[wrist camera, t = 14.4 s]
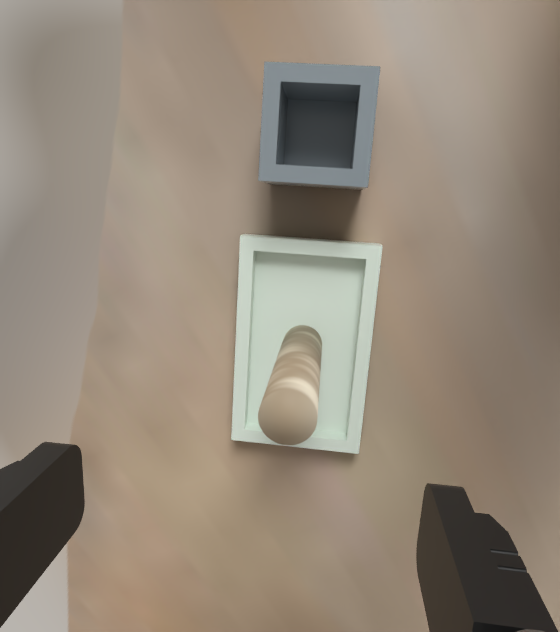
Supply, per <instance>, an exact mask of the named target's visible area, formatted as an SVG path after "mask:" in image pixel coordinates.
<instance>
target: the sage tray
mask: <svg viewBox="0 0 560 632" xmlns="http://www.w3.org/2000/svg"><path fill="white" fill-rule="evenodd" d="M381 255H382V245H381V244H380V243H366V242H352V241H339V240H325V239H311V238H297V237H284V236H270V235H256V234H243V235H240V254H239V276H238V299H237V322H236V345H235V367H234V390H233V413H232V436H231V440H237V441H246V442H255V443H264V444H273V445H282V444H278V443H276V442H274V441H272V440H270V439H269V438H268V437H267V436H266V435H265V434H264V433H263V431H262V430H261V428H260V425H259V422H258V411H259V408H260V405H261V402H262V399H263V396H264V393H265V391H266V388H267V385H268V382H269V379H270V376H271V373H272V370H273V368H274V365H275V362H276V359H277V356H278V353H279V350H280V348H281V345H282V342H283V339H284V336H285V334H286V333H287V332H288V331H289V330H290V329H291V328H293V327H295V326H298V325H306V326H309V327H312V328H313V329H315V330H316V331H317V332H318V333H319V335H320V337H321V340H322V355H321V371H320V386H319V402H318V418H317V425H316V428H315V431H314V432H313V434H312V435H311V436H310V437H309V438H308V439H307V440H305V441H304V442H302V443H299V444H296V445H282V446H291V447H300V448H309V449H318V450H327V451H336V452H346V453H355V454H359V447H360V439H361V430H362V421H363V412H364V404H365V395H366V386H367V377H368V369H369V360H370V351H371V342H372V334H373V325H374V316H375V307H376V299H377V290H378V281H379V272H380V264H381Z"/></svg>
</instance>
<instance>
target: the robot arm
mask: <svg viewBox="0 0 560 632" xmlns="http://www.w3.org/2000/svg"><path fill="white" fill-rule="evenodd" d="M84 504H85V503H84V485H83V470H82V455H81V450H80V448H79V447H78V446H77V445H71V444H60V443H52V442H44V443H42V444H40V445H39V446H38V447H37V448H35V450H33V451H32V452H31V453H29V454H28V455H27V456H26V457H25V458H24V459H22V460H21V461H16V462H14V463H12V464H10V465H8V466H6V467H4V468H2V469H0V627H1V626H2V625H3V624H4V622H5V621H6V620H7V619H8V617H9V616H10V615H11V613H12V612H13V611H14V610H15V608H16V607H17V606H18V604H19V603H20V602H21V601H22V599H23V598H24V597H25V595H26V594H27V593H28V592H29V590H30V589H31V588H32V586H33V585H34V584H35V583H36V581H37V580H38V579H39V577H40V576H41V575H42V574H43V573H44V571H45V570H46V568H47V567H48V566H49V565H50V564H51V562H52V561H53V560H54V558H55V557H56V556H57V555H58V553H59V552H60V551H61V550H62V548H63V547H64V545H65V544H66V543H67V542H68V541H69V539H70V538H71V537H72V535H73V534H74V533H75V531H76V530H77V528H78V527H79V524H80V522H81V519H82V516H83V512H84ZM417 572H418V578H419V583H420V587H421V592H422V597H423V602H424V606H425V611H426V616H427V621H428V625H429V630H430V632H558V630H557V628H556V626H555V624H554V622H553V620H552V618H551V616H550V614H549V612H548V610H547V608H546V606H545V604H544V602H543V601H542V599H541V597H540V595H539V593H538V591H537V589H536V587H535V585H534V583H533V581H532V579H531V577H530V575H529V573H527V571H526V567H525V565H524V563H523V561H522V559H521V557H520V556H518V551H517V549H516V547H515V545H514V543H513V541H512V539H511V537H510V535H509V533H508V532H507V531H506V530H505V529H504V528H503V527H502V526H501V525H500V524H499V523H498V522H497V521H496V520H495V519H494V518H493V517H492V516H490V515H489V514H482V513H474V510H473V508H472V506H471V503H470V501H469V499H468V496H467V494H466V492H465V490H464V488H463V487H457V486H448V485H438V484H429V483H428V484H427V485H426V487H425V491H424V497H423V504H422V511H421V518H420V526H419V533H418V540H417Z"/></svg>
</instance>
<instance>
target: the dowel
mask: <svg viewBox="0 0 560 632" xmlns="http://www.w3.org/2000/svg"><path fill="white" fill-rule="evenodd" d="M321 355H322V340H321V337H320V335H319V333H318V332H317V331H316V330H315V329H313V328H312V327H309V326H306V325H298V326H295V327H293V328H291V329H290V330H289V331H288V332H287V333H286V334H285V336H284V339H283V342H282V345H281V348H280V350H279V353H278V356H277V359H276V362H275V365H274V368H273V370H272V373H271V376H270V379H269V382H268V385H267V388H266V391H265V393H264V396H263V399H262V402H261V405H260V408H259V411H258V422H259V425H260V428H261V430H262V431H263V433H264V434H265V435H266V436H267V437H268V438H269V439H270V440H272V441H274V442H276V443H278V444H282V445H296V444H299V443H302V442H304V441H305V440H307V439H308V438H309V437H310V436H311V435H312V434H313V432H314V431H315V428H316V425H317V418H318V402H319V386H320V371H321Z"/></svg>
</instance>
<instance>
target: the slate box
mask: <svg viewBox="0 0 560 632" xmlns="http://www.w3.org/2000/svg"><path fill="white" fill-rule="evenodd" d="M379 75H380V67H379V66H355V65H331V64H307V63H283V62H265V63H264V82H263V102H262V121H261V141H260V160H259V179H258V181H262V182H265V183H268V184H276V185H292V186H307V187H323V188H339V189H355V190H363V189H365V188H368V181H369V171H370V161H371V152H372V142H373V132H374V123H375V113H376V104H377V94H378V84H379Z"/></svg>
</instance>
